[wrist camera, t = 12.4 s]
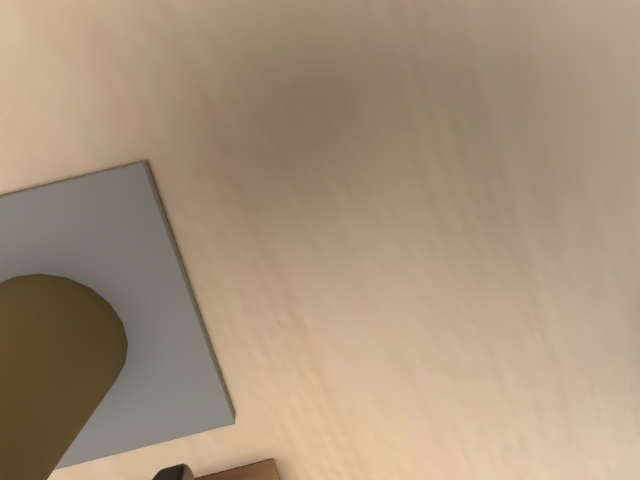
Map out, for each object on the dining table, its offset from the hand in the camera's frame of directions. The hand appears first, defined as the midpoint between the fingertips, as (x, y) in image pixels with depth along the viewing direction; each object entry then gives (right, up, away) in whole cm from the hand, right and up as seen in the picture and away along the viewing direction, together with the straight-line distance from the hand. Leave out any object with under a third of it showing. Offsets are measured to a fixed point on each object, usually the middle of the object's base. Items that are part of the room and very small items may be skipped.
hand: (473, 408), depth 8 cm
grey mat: (-13, -1, +13) cm, 19 cm away
